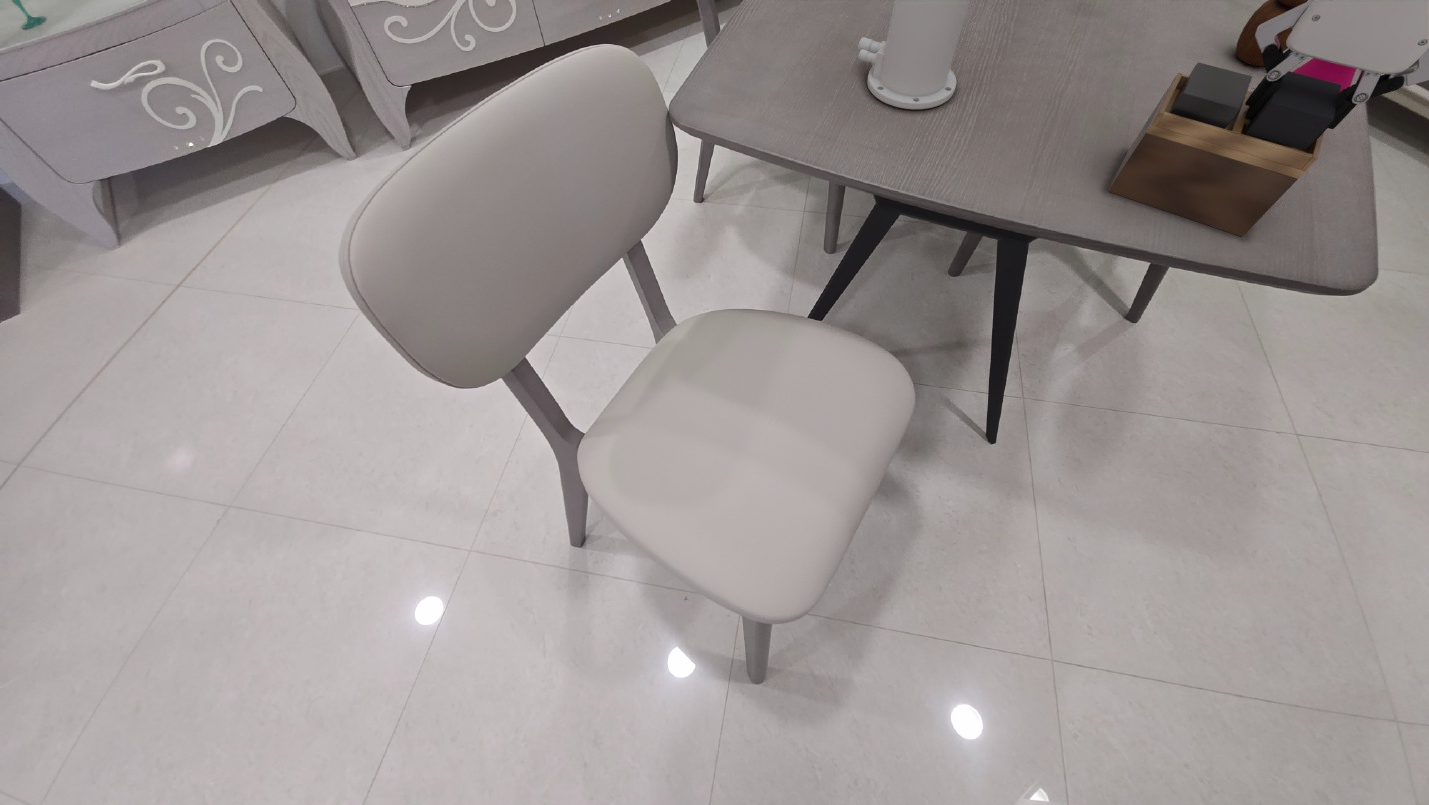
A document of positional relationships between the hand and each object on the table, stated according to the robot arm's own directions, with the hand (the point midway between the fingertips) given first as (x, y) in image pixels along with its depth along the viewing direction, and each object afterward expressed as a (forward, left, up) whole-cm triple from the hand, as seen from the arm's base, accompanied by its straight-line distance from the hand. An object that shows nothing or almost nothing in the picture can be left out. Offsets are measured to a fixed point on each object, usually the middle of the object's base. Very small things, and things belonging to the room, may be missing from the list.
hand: (1283, 120), depth 63 cm
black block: (0, 0, 0) cm, 0 cm away
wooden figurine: (-2, +36, -11) cm, 38 cm away
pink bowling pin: (+4, +20, -11) cm, 23 cm away
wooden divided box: (-4, 0, -11) cm, 11 cm away
